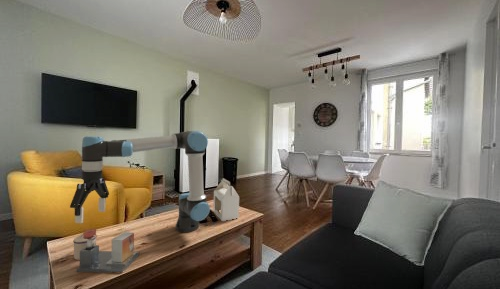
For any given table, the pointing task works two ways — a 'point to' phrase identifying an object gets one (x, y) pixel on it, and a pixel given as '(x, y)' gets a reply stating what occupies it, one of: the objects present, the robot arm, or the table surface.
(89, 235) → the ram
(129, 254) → the small box
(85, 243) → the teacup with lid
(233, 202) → the gable box
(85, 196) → the robot arm
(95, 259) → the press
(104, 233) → the table surface
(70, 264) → the table surface
